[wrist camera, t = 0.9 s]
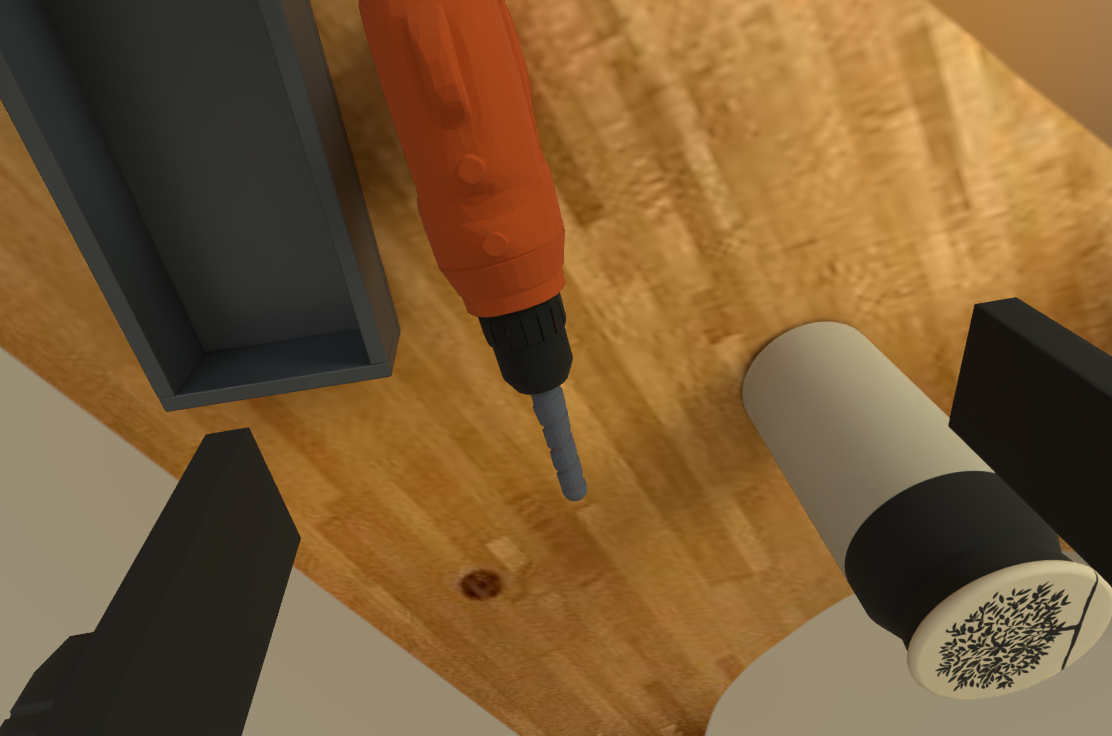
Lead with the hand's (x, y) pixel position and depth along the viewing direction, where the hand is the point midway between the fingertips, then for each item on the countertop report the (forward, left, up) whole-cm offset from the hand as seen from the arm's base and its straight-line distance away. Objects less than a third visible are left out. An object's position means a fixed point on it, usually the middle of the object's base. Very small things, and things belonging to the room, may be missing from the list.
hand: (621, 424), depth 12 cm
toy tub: (-4, -14, -22) cm, 26 cm away
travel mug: (+16, +14, -22) cm, 31 cm away
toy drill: (+1, -2, -22) cm, 22 cm away
